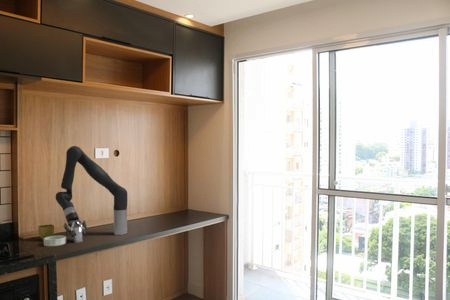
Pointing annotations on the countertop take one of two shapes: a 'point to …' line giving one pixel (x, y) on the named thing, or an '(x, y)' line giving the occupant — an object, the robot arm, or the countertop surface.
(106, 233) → the countertop surface
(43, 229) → the flower pot
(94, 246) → the countertop surface
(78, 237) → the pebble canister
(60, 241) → the bowl
